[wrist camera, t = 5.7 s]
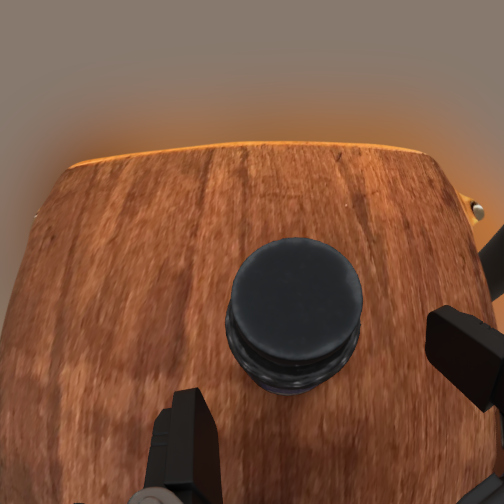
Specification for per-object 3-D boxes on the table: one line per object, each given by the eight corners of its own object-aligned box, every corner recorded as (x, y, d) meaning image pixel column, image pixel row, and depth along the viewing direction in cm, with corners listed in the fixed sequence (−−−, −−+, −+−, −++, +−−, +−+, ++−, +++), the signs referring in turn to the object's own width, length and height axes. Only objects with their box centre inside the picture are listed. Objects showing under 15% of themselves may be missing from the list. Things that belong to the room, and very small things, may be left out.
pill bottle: (346, 338, 20) (407, 266, 10) (302, 412, 17) (332, 417, 8) (274, 296, 22) (270, 198, 12) (225, 365, 19) (175, 318, 10)
